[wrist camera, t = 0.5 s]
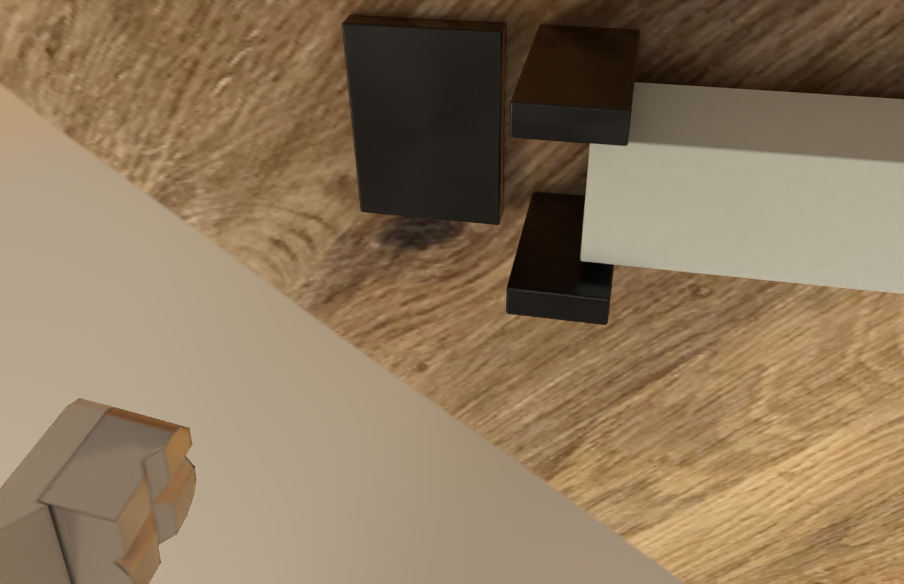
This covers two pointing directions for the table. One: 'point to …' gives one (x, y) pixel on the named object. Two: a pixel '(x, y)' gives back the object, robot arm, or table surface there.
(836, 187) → the vial
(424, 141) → the stand
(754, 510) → the table surface
